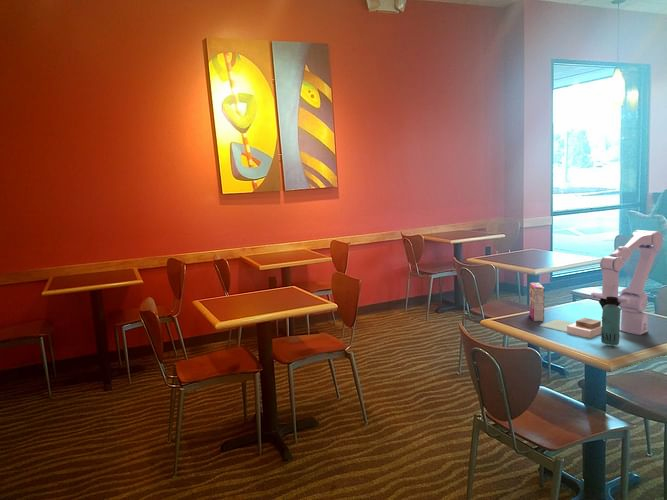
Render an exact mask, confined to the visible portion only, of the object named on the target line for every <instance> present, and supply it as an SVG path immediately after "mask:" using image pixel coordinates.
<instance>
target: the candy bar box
mask: <svg viewBox="0 0 667 500" xmlns="http://www.w3.org/2000/svg"><path fill="white" fill-rule="evenodd" d="M528 293H529V295H528V296H529V302H528V303H529V304H528V305H529V317H530V318H531V319H532V321H533V322H544V321H545V287H544V285H542V284H541V283H540V282H529V291H528Z"/></svg>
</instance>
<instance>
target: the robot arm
mask: <svg viewBox="0 0 667 500" xmlns="http://www.w3.org/2000/svg"><path fill="white" fill-rule="evenodd" d="M663 241H664V239H663V234H662V232H661V231H659V230H642V229H636V230H634V231H633V232H632V233H631V238H630V239H629V241H628V242H627V243H626V244H625V245H624V246H623V245H622V246H618V247H617V248H616V249H615V250H614V251H612V252H611V254H609V255H605V256H604V257H602V258H601V260H600V262H599V267H600V269H601V271H600V272H601V274H602V289H601V292H600V293H599V292H591V293H590V298H592V299H599V301H598V303H599V305H600V306H601V310H603V307H604V306H605V305H608V304H611V303H606V298H607V297H617V298H618V303H617V304H611V305H617V306H618V307H619V308H620V309H621V314H620V332H624V333H629V334H634V335H637V336H641V335H643V334H645V333H648V332H649V329H648V328H649V315H648V313H646V312H644V311H645V310H646V309H647V306H648V298H649V296H648V294H647V293H646V292H645V291H644V289H645V286H646V284H647V283H646V282H647V280H648V277H649V275H650V272H651V269H652V266H653V263H654V261H655V257H656V255H657V254H658V253H659V252H660V249H661V247H662V243H663ZM635 250H637V251H639V252H640V256H639V258H638V261H637V264H636V267H635V270H634V273H633V275H632V279H631V281H630V284H629V286H627V287H625V288H623V289H622V290H621V292H620V293H619V279H620V278H619V277H620V271H621V270H622V268H623V266H624V264H625V262H626V261H627V260H628V259H629V258H631V256H632V252H633V251H635Z"/></svg>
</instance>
